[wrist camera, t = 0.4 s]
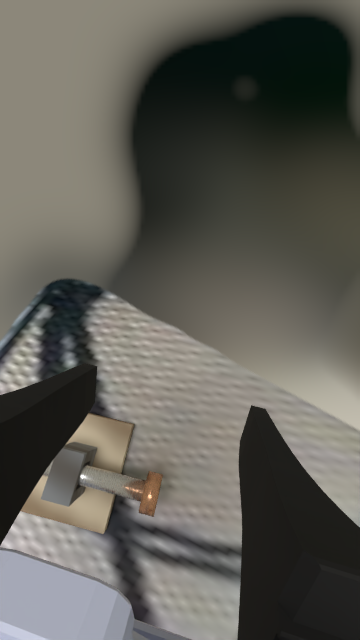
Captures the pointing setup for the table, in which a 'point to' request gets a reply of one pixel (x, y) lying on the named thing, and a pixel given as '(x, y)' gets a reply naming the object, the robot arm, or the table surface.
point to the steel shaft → (122, 486)
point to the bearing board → (105, 460)
